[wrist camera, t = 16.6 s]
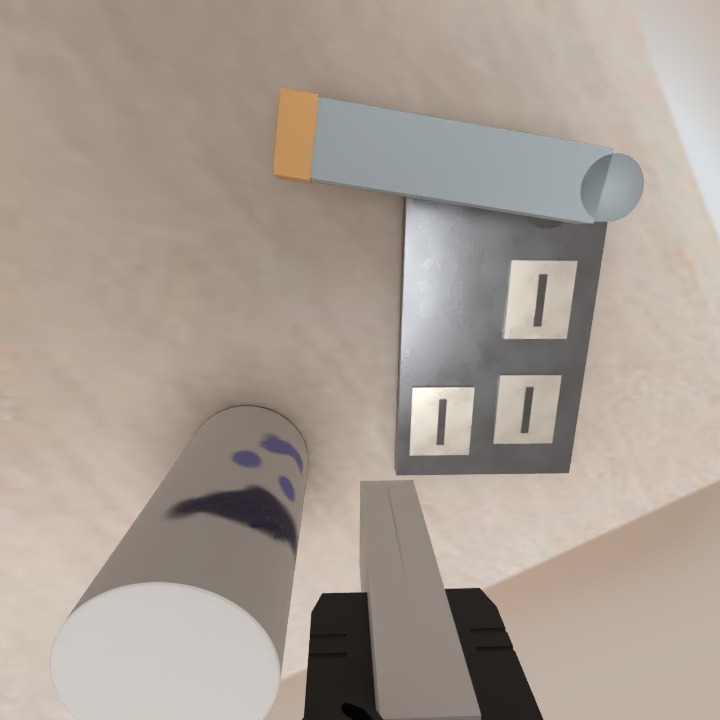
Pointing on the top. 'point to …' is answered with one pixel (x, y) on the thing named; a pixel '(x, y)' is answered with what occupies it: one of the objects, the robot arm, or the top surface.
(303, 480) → the container
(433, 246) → the slotted grey board
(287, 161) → the grey long bar
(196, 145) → the top surface
